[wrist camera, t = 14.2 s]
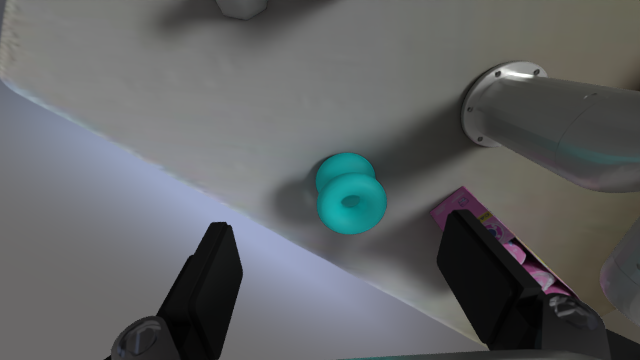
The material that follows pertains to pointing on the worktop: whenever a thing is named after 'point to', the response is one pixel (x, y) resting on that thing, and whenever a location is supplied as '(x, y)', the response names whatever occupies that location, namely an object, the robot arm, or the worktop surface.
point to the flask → (242, 8)
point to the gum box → (502, 239)
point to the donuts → (349, 194)
